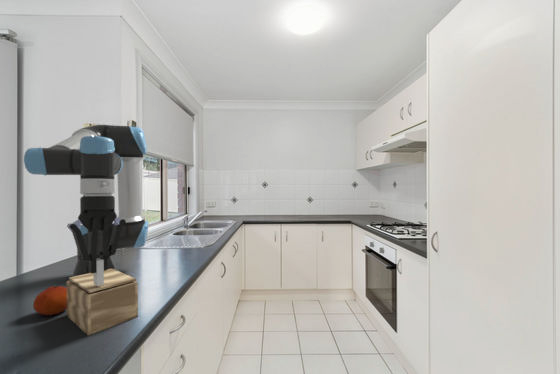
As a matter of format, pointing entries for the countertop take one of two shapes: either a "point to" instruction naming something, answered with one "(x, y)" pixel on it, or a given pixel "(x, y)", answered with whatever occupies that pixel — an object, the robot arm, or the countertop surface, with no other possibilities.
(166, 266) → the countertop surface
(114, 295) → the wooden box
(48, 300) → the fruit
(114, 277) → the flap
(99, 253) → the robot arm
